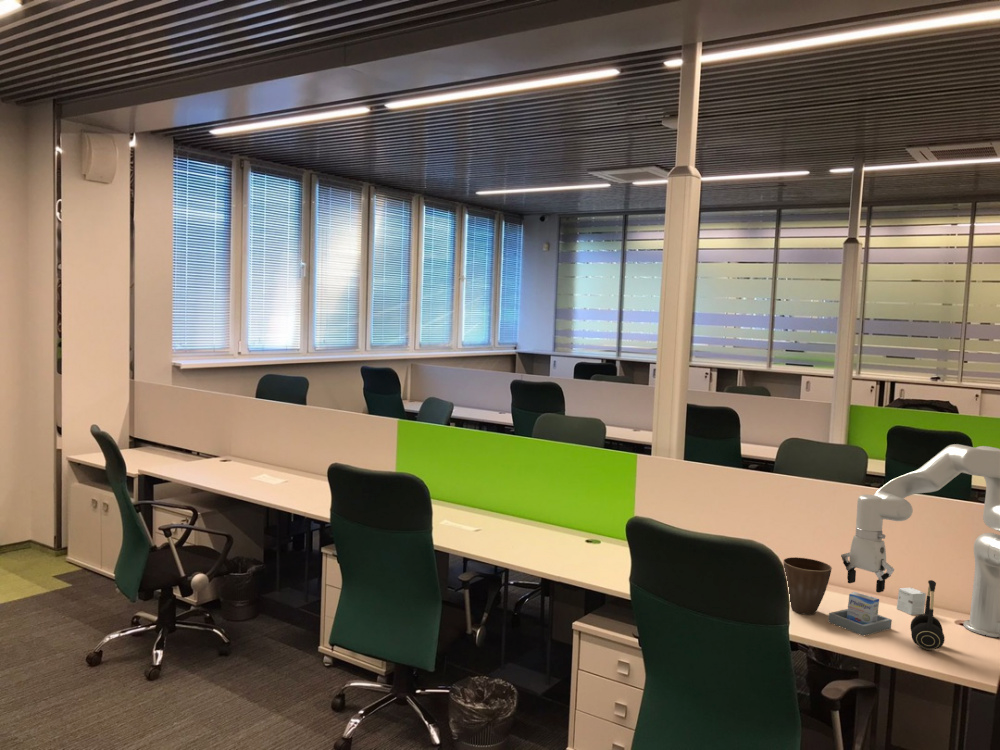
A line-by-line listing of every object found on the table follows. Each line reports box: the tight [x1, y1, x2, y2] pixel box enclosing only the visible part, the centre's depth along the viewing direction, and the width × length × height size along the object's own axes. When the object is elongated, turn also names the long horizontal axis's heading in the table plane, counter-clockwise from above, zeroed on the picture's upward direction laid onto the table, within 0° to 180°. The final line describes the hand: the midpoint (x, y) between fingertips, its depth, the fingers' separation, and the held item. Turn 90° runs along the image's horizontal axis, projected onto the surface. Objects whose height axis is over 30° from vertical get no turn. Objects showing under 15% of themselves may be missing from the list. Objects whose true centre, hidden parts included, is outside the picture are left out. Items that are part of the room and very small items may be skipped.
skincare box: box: [896, 587, 927, 616], centre depth 261 cm, size 6×6×7 cm
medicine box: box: [847, 591, 880, 625], centre depth 244 cm, size 8×4×9 cm, turn 42°
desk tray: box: [827, 608, 893, 637], centre depth 243 cm, size 12×15×3 cm
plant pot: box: [782, 556, 833, 616], centre depth 253 cm, size 15×15×16 cm
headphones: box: [909, 579, 946, 651], centre depth 229 cm, size 9×15×20 cm, turn 154°
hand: (865, 587), depth 243 cm, fingers open, 9 cm apart
